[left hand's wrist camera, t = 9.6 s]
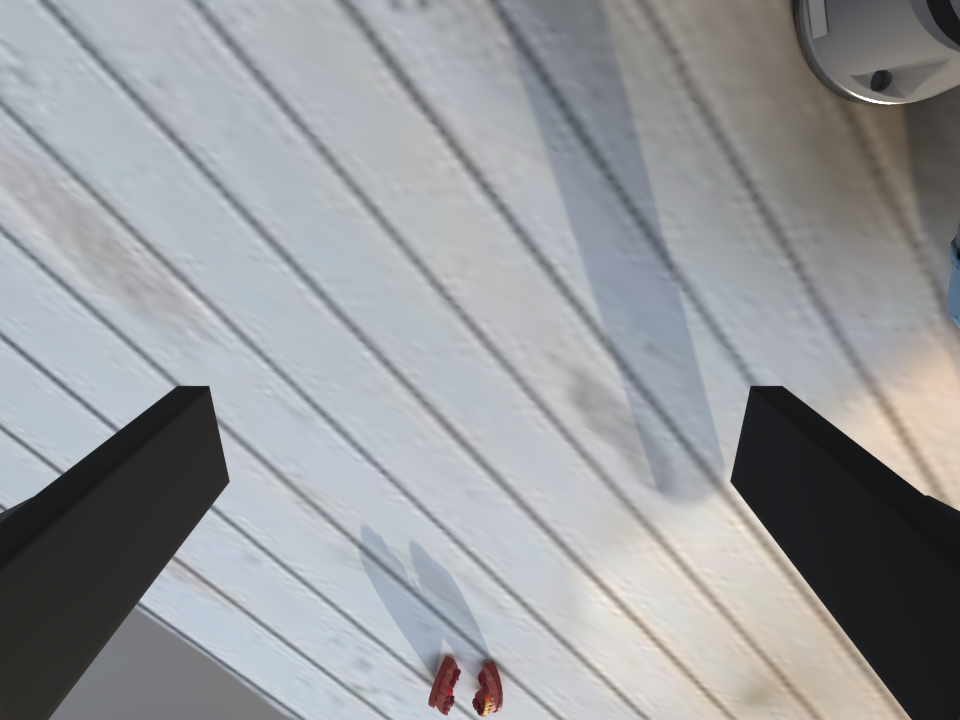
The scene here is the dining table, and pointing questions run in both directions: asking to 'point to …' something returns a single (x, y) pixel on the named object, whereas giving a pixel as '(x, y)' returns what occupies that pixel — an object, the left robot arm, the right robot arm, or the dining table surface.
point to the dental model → (484, 699)
